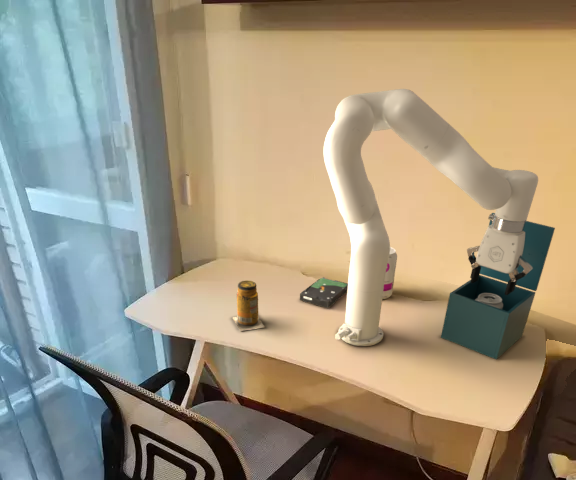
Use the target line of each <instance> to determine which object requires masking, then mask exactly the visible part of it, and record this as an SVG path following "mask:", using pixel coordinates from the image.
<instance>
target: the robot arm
mask: <svg viewBox="0 0 576 480" xmlns="http://www.w3.org/2000/svg"><path fill="white" fill-rule="evenodd" d="M386 130H392V132H394V134H396V135H397V137H399V138H401V139H402V140H403V141H404V142H405V143H406V144H407V145H409V146H410V147H411V148H412V149H413V150H414V151H415V152H417V153H418V154H419V155H421V157H422V158H424V159H425V160H426V161H427V162H428V163H429V164H431V165H432V166H433V167H434V168H435V169H436V170H437V171H438V172H439V173H441V174H442V175H444V176H445V177H446V178H448V179H449V180H450V181H451V182H453V184H455V186H457V187H458V188H460V190H462V191H463V192H464V194H466V195H467V196H468V197H469V198H470V199H472V200H473V201H474V202H475V203H476V204H477V205H479V206H480V207H481V208H483V209H485V210H488V211H495V212H494V213H495V214H493V215H492V214H491V213H490V214H489V216H488V218H487V219H488V220H489V221H490V220H491V221H492V225H489V224H488V226H487V228H486V230H485V232H484V234H483V237H482V239H481V242H480V244H479V245H475V246H470V247H469V248H467V249H466V252H467V257H468V259H467V260H468V261H469V263H470V267H471V273H470V277H469V278H470V280H471V282H470V283H474V282H476V281H477V280H478V278H479V275H481V274H480V270H481V266H484V267H487V268H490V269H493V270H496V271H499V272H503V273H508V274H509V276H510V278H511V280H509V281H508V282H507V287H506V290H505V295H508V294H510V293H511V292H513V291H514V289H515V286H517V285H516V283H517V280H519V279H521V278H523V277H524V276H526V275H527V274H528V273H529V272H530V271H531V270H532V269H533V267H532V266H531V265H530V264H529V263H528V262H527V261H526V260H525V259H524V258H523V257H522V254H523V249H524V242H525V232H524V231H523V230H524V227H525V224H526V221H528V216H529V212H530V211H531V207H532V203H533V201H534V197H535V194H536V191H537V187H538V184H539V176H538V174H537V173H535V172H533V171H529V170H525V169H513V170H509V169H503V168H498V167H494V166H492V165H490V163H488V162H487V161H486V159H485V158H484V157H482V156H481V154H479V153H478V152H477V151H476V150H475V149H474V148H473V147H472V146H471V144H470V143H469V141H468V140H466V138H465V137H464V136H463V135H461V133H460V132H459V131H458V130H457V129H456V128H454V127H453V126H452V125H451V124H450V123H449V122H448V121H446V120H445V118H443V117H442V116H441V115H440V114H439V113H437V111H436V110H434V109H433V108H432V107H431V106H430V105H429V104H428V103H427V102H426V101H424V100H423V99H422V98H421V97H420V96H419V95H418V94H417V93H415V92H414V91H413V90H410V89H407V88H395V89H388V90H381V91H373V92H364V93H355V94H350V95H348V96H346V97H344V98H343V99H341V101H340V102H339V103H338V105H337V106H336V109H335V113H334V121H333V122H332V124H331V126H330V127H329V129H328V130H327V133H326V136H325V139H324V143H323V154H322V155H323V160H324V161H323V162H324V164H325V169H326V171H327V174H328V178H329V181H330V185H331V188H332V191H333V193H334V196H335V199H336V204H337V205H336V206H337V209H338V212H339V213H340V216H341V217H342V218H343V222H344V224H345V227H346V230H347V233H348V235H349V240H350V260H349V261H350V262H349V269H348V270H349V271H348V279H347V283H348V290H347V293H346V304H345V316H344V323H343V324H341V326H339V328H338V332H336V333H335V334H334V338H335V340H337V341H340V340H342V341H343V342H345V343H346V344H349V345H353V346H358V347H369V346H374V345H377V344H379V343H380V342H381V341H382V340H383V339H384V331H383V329H382V328H381V326H380V320H381V312H382V305H383V299H382V297H383V289H384V280H385V273H386V268H387V263H388V259H389V254H390V247H391V242H390V237H389V234H388V231H387V229H386V226H385V223H384V221H383V217H382V214H381V211H380V208H379V204H378V201H377V198H376V193H375V190H374V187H373V185H372V183H371V181H370V180H369V178H368V174H367V172H366V168H365V164H364V161H363V158H362V157H363V156H362V148H363V145H364V143H365V141H366V140H367V139H368V138H369V137H370V135H371V134H372V132H379V131H386ZM476 252H477V254H476V255H475V253H476ZM480 265H481V266H480ZM519 265H521V266H522V267H523V268H524V270H523V271H522V272H521V273H519V272H518V270H517V268H518V267H519Z"/></svg>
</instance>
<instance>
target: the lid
mask: <svg viewBox="0 0 576 480" xmlns="http://www.w3.org/2000/svg"><path fill="white" fill-rule="evenodd" d="M490 214H492V215H493V214H495V212H491V213H490ZM489 225H492V221H491V220H489V223H488V226H489ZM555 230H556V227H554V226H550V225H546V224H542V223H537V222H533V221H529V220H526V224H525V227H524V230H523V231H524V232H525V242H524V249H523V254H522V257H523V258H524V259H525V260H526V261H527V262H528V263H529V264H530V265H531V266H532V267H533V269H532V270H531V271H530V272H529V273H528V274H527V275H526V276H524V277H523V278H521V279H519V280H517V283H516V286H517V287H520V288H523V289H526V290H529V291H533V292H537V290H538V287H539V284H540V280H541V277H542V274H543V270H544V268H545V263H546V261H547V257H548V253H549V249H550V246H551V243H552V240H553V237H554V233H555ZM480 266H481V265H480ZM517 270H518V272H519V273H521V272H522V271H523V270H524V268H523V267H522V266H521V265H519V267H518V268H517ZM479 275H482V276H485V277H488V278H491V279H494V280H497V281H501V282H504V283H508V281H509V280H511V278H510V276H509V274H508V273H503V272H499V271H496V270H493V269H490V268H487V267H484V266H481V270H480V274H479Z"/></svg>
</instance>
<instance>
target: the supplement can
mask: <svg viewBox="0 0 576 480" xmlns="http://www.w3.org/2000/svg"><path fill="white" fill-rule="evenodd" d="M397 261H398V254H397V250H396V248H395V247H392V246H390V254H389V259H388V263H387V268H386V273H385V280H384V289H383V297H382V300H386V299H389V298H390V297H391V296H392V295H393V290H394V283H395V275H396V268H397Z"/></svg>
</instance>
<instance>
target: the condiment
mask: <svg viewBox="0 0 576 480" xmlns="http://www.w3.org/2000/svg"><path fill="white" fill-rule="evenodd" d="M258 293H259V292H258V290H257V283H256V282H255V281H252V280H241V281H239V282H238V283H237V292H236V310H237V311H236V312H237V314H236V315H237V316H233V317H232V319H233V321H234V323H235V324H236V326H237V328H238V329H239V331H250V330H256V329H263V328H265V325H264V323H263V322H262V321H261V320H260V317H259V294H258Z"/></svg>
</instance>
